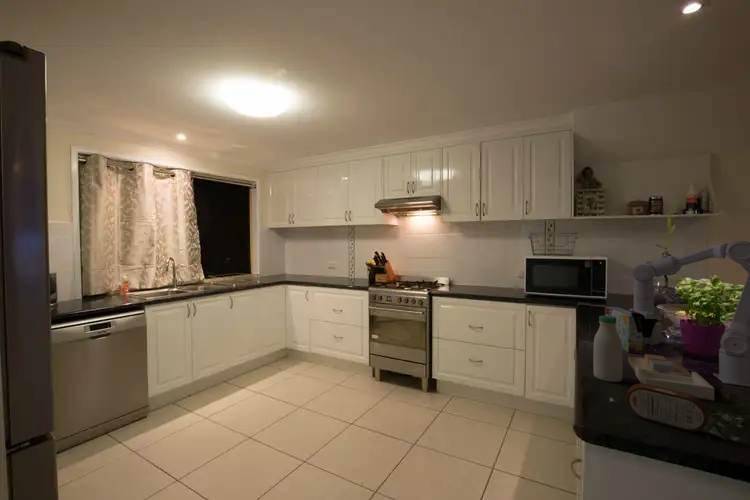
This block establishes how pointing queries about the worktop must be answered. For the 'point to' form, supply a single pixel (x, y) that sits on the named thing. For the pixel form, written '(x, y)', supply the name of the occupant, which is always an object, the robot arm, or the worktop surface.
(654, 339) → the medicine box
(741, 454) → the worktop surface
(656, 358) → the terracotta tile
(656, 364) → the slate tile
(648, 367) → the board
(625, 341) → the snack box
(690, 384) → the tray
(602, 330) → the milk bottle
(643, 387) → the tin
